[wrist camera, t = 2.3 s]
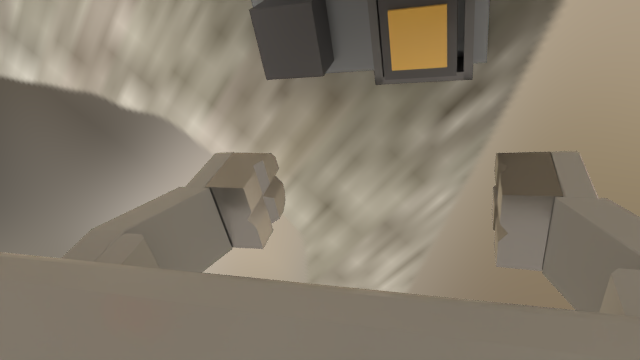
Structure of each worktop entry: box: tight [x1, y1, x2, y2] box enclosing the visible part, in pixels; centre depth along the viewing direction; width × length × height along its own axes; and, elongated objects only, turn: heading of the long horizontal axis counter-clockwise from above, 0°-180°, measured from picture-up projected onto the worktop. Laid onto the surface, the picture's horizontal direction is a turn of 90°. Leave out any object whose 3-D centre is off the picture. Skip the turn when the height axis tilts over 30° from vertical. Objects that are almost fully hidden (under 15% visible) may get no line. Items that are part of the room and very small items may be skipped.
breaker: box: [378, 0, 458, 80], centre depth 19 cm, size 4×3×2 cm
